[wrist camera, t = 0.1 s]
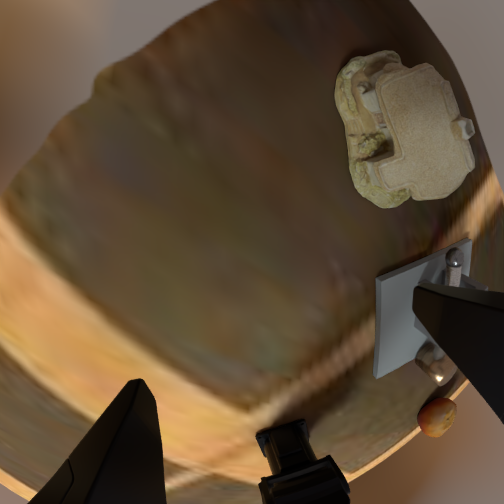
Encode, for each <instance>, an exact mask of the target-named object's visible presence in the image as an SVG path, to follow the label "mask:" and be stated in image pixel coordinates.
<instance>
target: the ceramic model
mask: <svg viewBox="0 0 504 504" xmlns="http://www.w3.org/2000/svg"><path fill="white" fill-rule="evenodd" d="M335 101H336V106H337V109H338V111H339V113H340V115H341V117H342V120H343V122H344V125H345V134H346V139H347V145H348V156H349V169H350V173H351V176H352V179H353V182H354V185H355V188H356V189H357V191H358V192H359V193H360V194H361V195H362V196H363V197H365V198H367V199H368V200H370V201H372V202H373V203H374V204H375V205H377V206H379V207H381V208H393V207H397V206H399V205H400V204H402V203H403V202H404V201H405V200H407V199H409V197H410V196H412V198H413V199H415V200H419V201H420V200H432V199H440V198H445V197H447V196H448V195H449V194H451V193H452V192H453V191H455V190H456V189H457V188H458V187H459V186H460V185H461V184H462V182H463V181H464V179H465V176H466V175H467V174H468V173H469V172H471V171H472V170H473V169H474V168H475V162H474V161H475V158H474V156H473V153H472V150H471V146H470V144H469V141H468V139H469V138H470V137H471V136H473V135H474V134H475V130H474V126H473V123H472V120H470V119H467V118H464V117H462V116H461V115H460V112H459V109H458V105H457V102H456V100H455V97H454V94H453V91H452V88H451V86H450V83H449V81H445V80H444V79H443V77H442V76H441V75H440V74H439V73H438V72H437V71H436V70H435V68H434V67H433V66H431V65H430V64H428V63H423V64H419V65H416V66H415V67H413V68H407V67H405V66H403V65H402V63H401V59H400V57H399V55H398V54H397V53H395V52H394V51H387V50H384V51H382V52H379V51H378V52H376V53H374V54H371V55H369V56H365V57H362V56H358V57H355V58H352V59H351V60H350V61H349V62H348V63H347V65H346V66H344V67H343V68H342V69H341V70H340V72H339V74H338V76H337V80H336V88H335Z"/></svg>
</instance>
